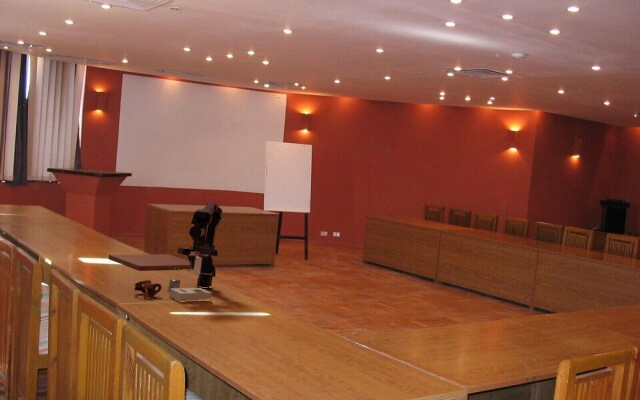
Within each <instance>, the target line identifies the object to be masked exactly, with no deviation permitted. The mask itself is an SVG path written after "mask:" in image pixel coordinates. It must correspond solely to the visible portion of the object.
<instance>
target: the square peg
mask: <svg viewBox="0 0 640 400" xmlns="http://www.w3.org/2000/svg"><path fill="white" fill-rule="evenodd" d="M201 262H202V258H201V257H199V256H196V258H195V261H194V269H193V270H192V269H190V274H191V275H194V276H195V275H196V276H199V275H200V270H201Z"/></svg>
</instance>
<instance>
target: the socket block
mask: <svg viewBox="0 0 640 400" xmlns="http://www.w3.org/2000/svg"><path fill="white" fill-rule="evenodd" d="M212 293H213V292H212V291H208V290H207V289H202V288H199V287H197V288H196V287H184V288H183V287H180V288H174V289H170V293H169V295H168V297H169V296H170V297H173V298H175V299H177V300H179V301H186V300H199V299H207V298H211V299H212ZM170 297H169V298H170Z"/></svg>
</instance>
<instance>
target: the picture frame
mask: <svg viewBox="0 0 640 400" xmlns="http://www.w3.org/2000/svg"><path fill="white" fill-rule="evenodd" d="M108 260H110V261H113V262H116V263H119V264H122V265H124V266H126V267H130V268H132V269H135V270H137V271H162V270H163V271H164V269H171V270H191V266H190V262H189V260H187V259H184V258H181V257H178V256H175V255H171V254H168V253H167V254H166V253H164V254H163V253H161V254H159V253H157V254H156V253H155V254H152V253H151V254H141V253H139V254H138V253H137V254H108ZM175 268H176V269H175ZM178 268H179V269H178Z"/></svg>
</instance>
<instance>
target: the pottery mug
mask: <svg viewBox="0 0 640 400" xmlns="http://www.w3.org/2000/svg"><path fill="white" fill-rule="evenodd" d="M156 288H157V290H156ZM162 289H163V288H162V285H161V284H160V283H158V282H157V283H152V281H151V280H149V279H147V280H142V281H138V282H136V283H134V291H138V292H141V293H142V295H143V299H148V298H153V297H154V296H156V295H157V294H159V293H160V292H161V290H162ZM154 298H155V297H154Z"/></svg>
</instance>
